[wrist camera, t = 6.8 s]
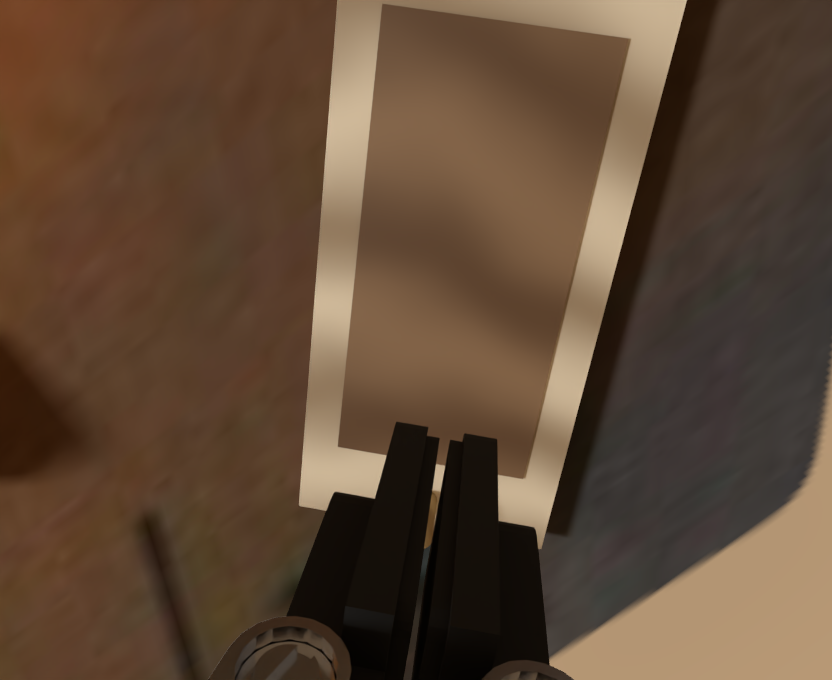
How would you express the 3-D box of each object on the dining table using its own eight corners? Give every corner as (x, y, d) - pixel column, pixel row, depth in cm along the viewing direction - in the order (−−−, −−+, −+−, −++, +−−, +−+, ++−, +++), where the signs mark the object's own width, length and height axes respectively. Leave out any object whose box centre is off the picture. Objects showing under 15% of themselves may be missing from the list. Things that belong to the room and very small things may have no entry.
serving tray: (539, 531, 30) (545, 590, 26) (305, 490, 30) (282, 542, 27) (696, -75, 20) (739, -105, 17) (355, -119, 21) (328, -159, 17)
